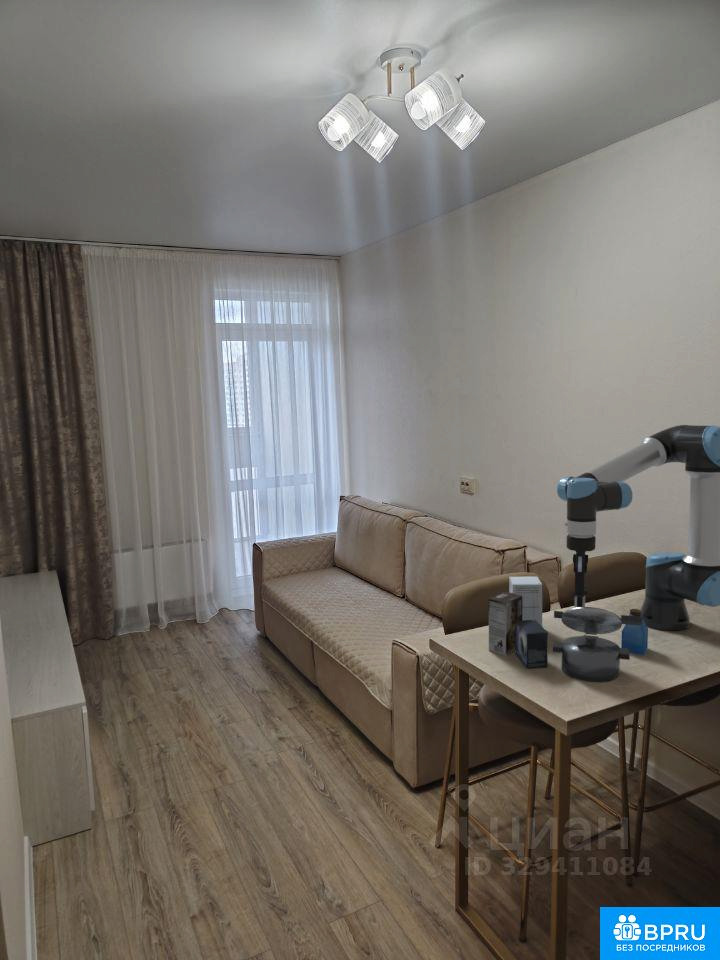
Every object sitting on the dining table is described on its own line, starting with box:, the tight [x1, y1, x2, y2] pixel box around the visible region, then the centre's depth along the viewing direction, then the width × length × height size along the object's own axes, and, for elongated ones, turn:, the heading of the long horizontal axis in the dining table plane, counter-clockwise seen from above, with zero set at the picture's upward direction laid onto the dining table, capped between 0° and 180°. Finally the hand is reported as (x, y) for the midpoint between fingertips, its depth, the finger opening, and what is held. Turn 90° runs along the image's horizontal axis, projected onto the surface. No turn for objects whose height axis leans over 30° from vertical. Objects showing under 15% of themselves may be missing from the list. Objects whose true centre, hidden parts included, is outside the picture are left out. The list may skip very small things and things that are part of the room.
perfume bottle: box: [620, 608, 649, 657], centre depth 192 cm, size 6×6×12 cm
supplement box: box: [508, 576, 543, 627], centre depth 210 cm, size 10×9×17 cm
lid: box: [553, 606, 642, 636], centre depth 180 cm, size 23×16×2 cm
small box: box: [514, 620, 549, 670], centre depth 186 cm, size 11×6×10 cm, turn 5°
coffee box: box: [488, 591, 522, 657], centre depth 195 cm, size 9×6×16 cm
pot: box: [551, 634, 631, 683], centre depth 180 cm, size 20×16×7 cm
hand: (579, 617), depth 183 cm, fingers closed
